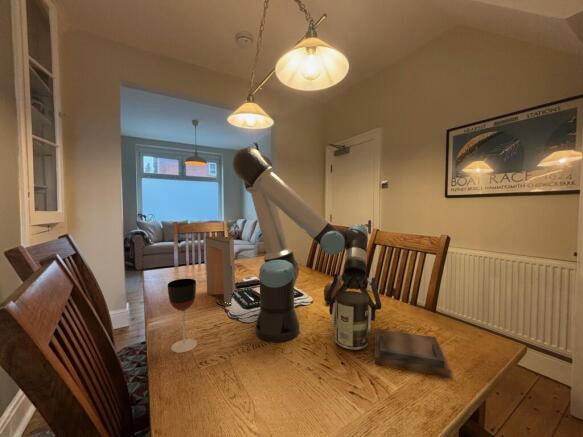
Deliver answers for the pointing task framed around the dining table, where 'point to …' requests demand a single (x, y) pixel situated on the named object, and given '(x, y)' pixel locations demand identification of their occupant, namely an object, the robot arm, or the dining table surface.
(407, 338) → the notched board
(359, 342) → the coffee can
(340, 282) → the brown rounded slab
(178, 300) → the wineglass
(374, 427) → the dining table surface
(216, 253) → the cabinet
